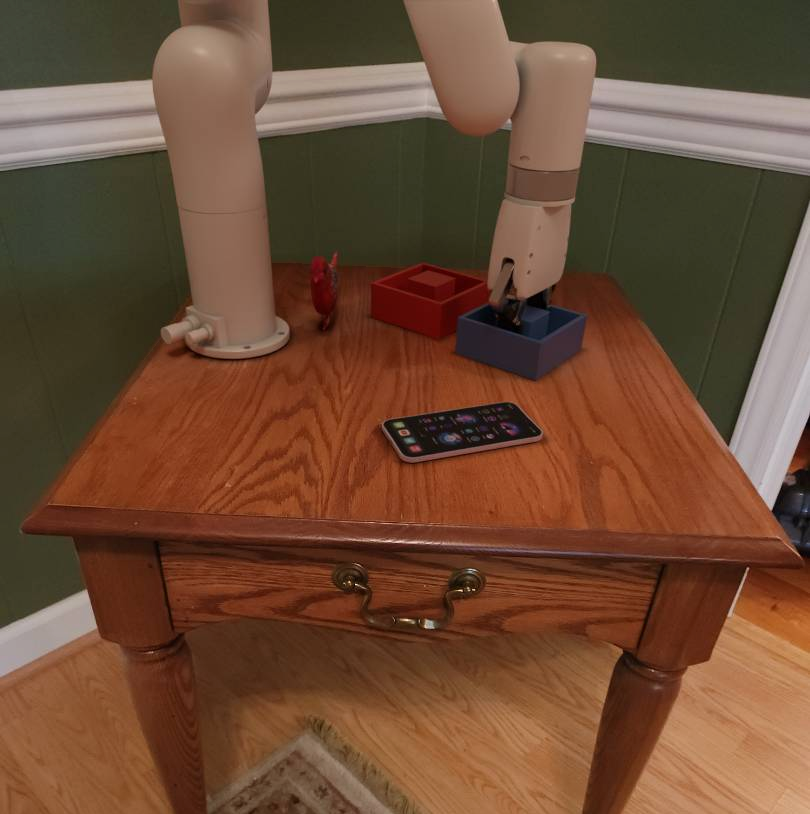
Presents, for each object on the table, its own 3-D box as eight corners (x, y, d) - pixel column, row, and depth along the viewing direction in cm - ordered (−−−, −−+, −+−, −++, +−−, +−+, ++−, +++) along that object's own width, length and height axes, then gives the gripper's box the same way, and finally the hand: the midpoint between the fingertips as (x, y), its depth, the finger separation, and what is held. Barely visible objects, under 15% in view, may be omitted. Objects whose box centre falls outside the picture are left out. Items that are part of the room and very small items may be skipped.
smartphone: (378, 420, 73) (512, 400, 77) (378, 425, 73) (512, 404, 77) (404, 459, 67) (547, 435, 72) (404, 464, 68) (546, 440, 72)
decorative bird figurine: (306, 346, 88) (302, 262, 82) (327, 295, 102) (325, 219, 96) (330, 348, 88) (327, 264, 82) (348, 296, 102) (346, 220, 96)
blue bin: (535, 381, 83) (541, 343, 80) (454, 353, 88) (457, 317, 85) (581, 350, 90) (587, 314, 87) (503, 326, 95) (507, 292, 92)
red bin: (439, 339, 91) (441, 304, 88) (370, 316, 96) (370, 282, 93) (487, 314, 98) (491, 281, 95) (421, 294, 103) (422, 262, 100)
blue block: (525, 359, 86) (530, 322, 83) (493, 348, 88) (497, 312, 85) (544, 347, 89) (550, 311, 86) (513, 337, 91) (517, 302, 88)
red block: (433, 321, 94) (435, 286, 91) (406, 312, 96) (407, 278, 94) (453, 311, 97) (455, 277, 94) (426, 303, 99) (428, 270, 96)
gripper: (549, 165, 84) (528, 318, 95) (466, 191, 73) (453, 359, 85) (608, 176, 81) (579, 333, 92) (531, 204, 70) (508, 379, 81)
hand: (519, 344), depth 88 cm, fingers open, 5 cm apart
